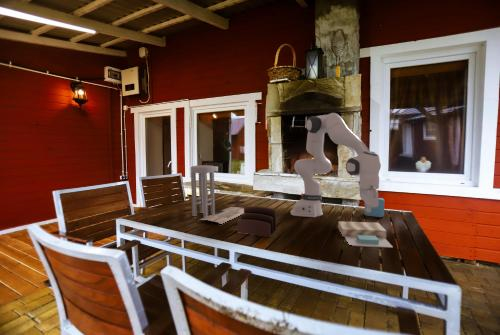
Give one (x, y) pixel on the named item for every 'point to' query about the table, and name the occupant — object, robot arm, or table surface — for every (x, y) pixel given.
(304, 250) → the table surface
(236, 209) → the grey flat ribbed slab
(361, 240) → the teal flat block
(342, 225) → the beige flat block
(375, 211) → the data package
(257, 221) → the letter holder
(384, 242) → the mat
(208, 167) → the stool
